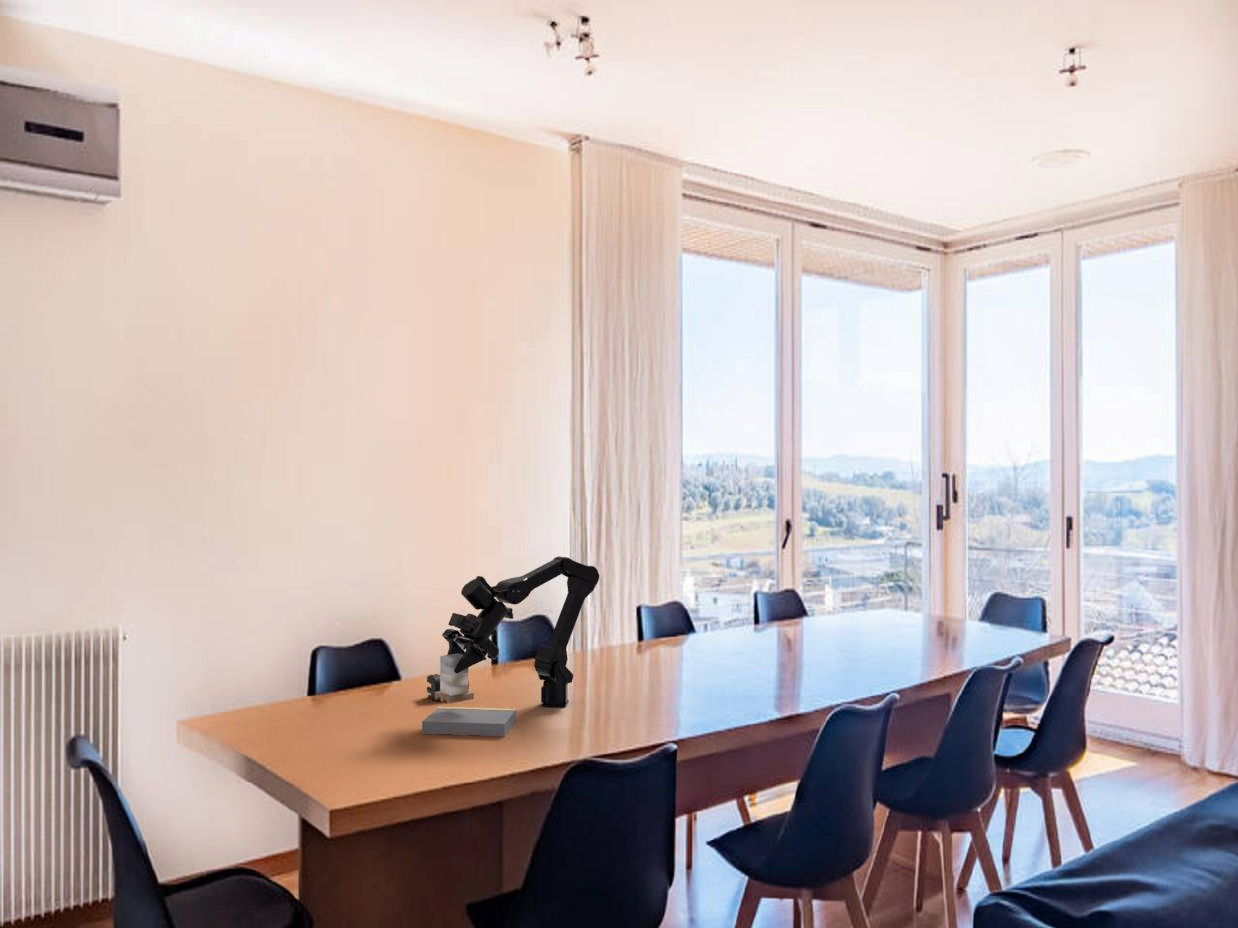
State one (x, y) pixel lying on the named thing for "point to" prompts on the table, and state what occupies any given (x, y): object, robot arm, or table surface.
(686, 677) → the table surface
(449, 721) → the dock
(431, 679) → the end cap
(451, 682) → the wrapped pallet load
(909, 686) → the table surface
